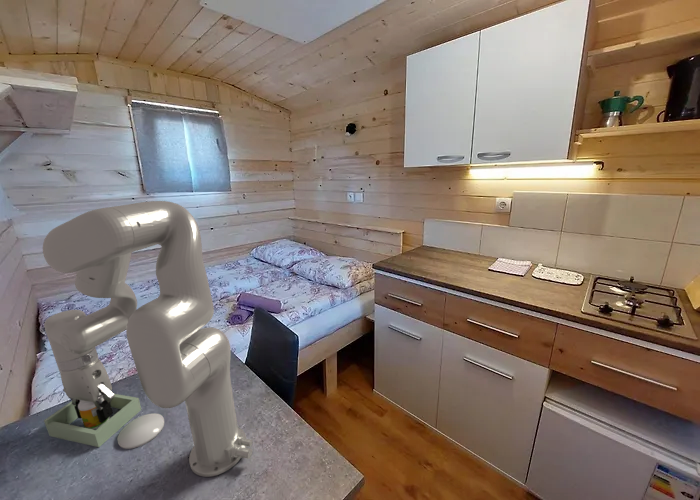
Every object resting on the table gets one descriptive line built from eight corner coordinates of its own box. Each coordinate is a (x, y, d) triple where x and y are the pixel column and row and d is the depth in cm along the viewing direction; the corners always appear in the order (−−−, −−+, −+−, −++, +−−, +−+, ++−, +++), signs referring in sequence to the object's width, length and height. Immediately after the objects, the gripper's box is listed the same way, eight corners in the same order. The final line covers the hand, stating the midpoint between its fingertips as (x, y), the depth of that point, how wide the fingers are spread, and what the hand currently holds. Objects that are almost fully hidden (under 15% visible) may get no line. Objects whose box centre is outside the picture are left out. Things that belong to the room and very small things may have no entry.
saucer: (173, 418, 81) (172, 416, 81) (141, 452, 72) (140, 449, 72) (142, 413, 84) (142, 410, 83) (107, 444, 74) (107, 442, 74)
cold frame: (141, 409, 85) (137, 395, 83) (99, 447, 74) (93, 431, 72) (96, 401, 88) (92, 387, 87) (49, 436, 77) (43, 420, 76)
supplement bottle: (80, 426, 80) (70, 395, 77) (104, 411, 84) (95, 382, 82) (90, 433, 77) (80, 402, 75) (114, 418, 82) (105, 388, 79)
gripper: (119, 353, 77) (134, 410, 82) (67, 346, 81) (85, 401, 86) (89, 372, 70) (108, 433, 75) (34, 363, 74) (55, 422, 79)
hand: (95, 415), depth 80 cm, fingers open, 6 cm apart
